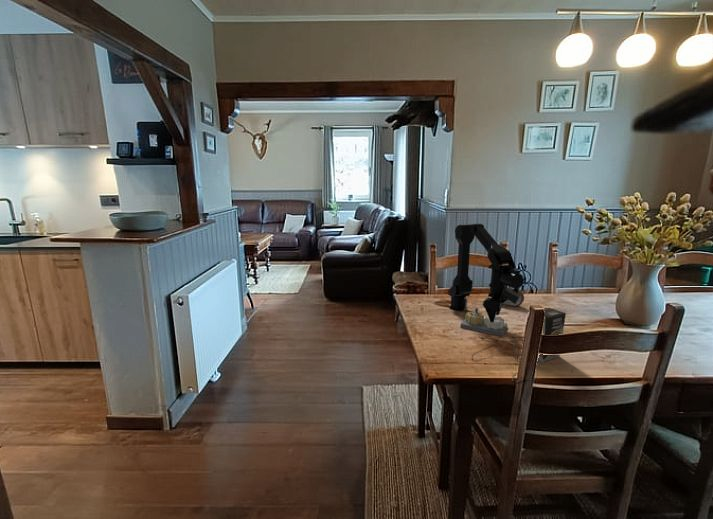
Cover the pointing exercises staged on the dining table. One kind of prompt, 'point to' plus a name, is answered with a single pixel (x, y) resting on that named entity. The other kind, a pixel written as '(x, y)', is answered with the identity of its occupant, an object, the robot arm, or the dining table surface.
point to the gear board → (480, 323)
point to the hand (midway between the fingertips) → (494, 318)
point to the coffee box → (552, 328)
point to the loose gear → (494, 323)
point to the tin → (517, 301)
